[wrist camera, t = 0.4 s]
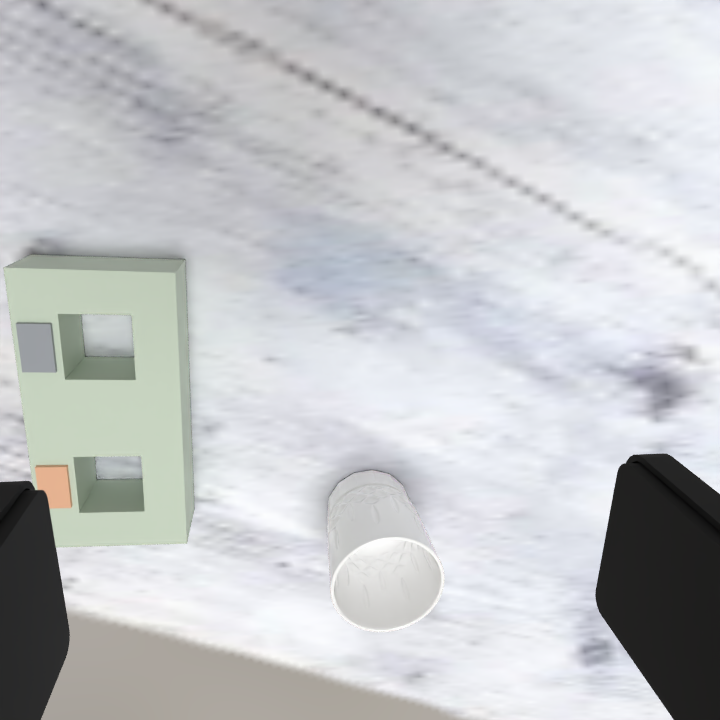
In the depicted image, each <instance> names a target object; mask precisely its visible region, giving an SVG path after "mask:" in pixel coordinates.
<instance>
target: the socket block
mask: <svg viewBox="0 0 720 720" xmlns="http://www.w3.org/2000/svg"><path fill="white" fill-rule="evenodd" d="M3 269H4V276H5V283H6V291H7V298H8V306H9V313H10V320H11V328H12V335H13V342H14V350H15V357H16V365H17V372H18V379H19V387H20V394H21V401H22V409H23V416H24V424H25V431H26V438H27V446H28V453H29V460H30V468H31V475H32V483H33V486H34V488H35V490H44V491H45V493H46V494H47V498H48V503H49V509H50V515H51V521H52V527H53V533H54V539H55V546H56V547H88V546H121V545H155V544H187V541H188V536H189V531H190V527H191V522H192V518H193V513H194V484H193V457H192V430H191V403H190V375H189V348H188V321H187V294H186V266H185V260H183V259H152V258H122V257H92V256H62V255H29V256H27V257H25V258H23V259H21V260H18V261H16V262H14V263H12V264H10V265H8V266H6V267H4V268H3ZM81 314H93V315H132V330H133V345H134V357H85V351H84V341H83V331H82V320H81ZM115 456H141V463H142V478H143V479H106V480H97V477H96V466H95V457H115Z"/></svg>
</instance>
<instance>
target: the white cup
mask: <svg viewBox="0 0 720 720" xmlns="http://www.w3.org/2000/svg"><path fill="white" fill-rule="evenodd" d="M327 517H328V524H327V538H328V560H329V576H330V594H331V600H332V603H333V605H334V607H335V609H336V611H337V612H338V614H339V615H340V616H341V617H342V618H343V619H344V620H345V621H346V622H348V623H349V624H351V625H353V626H355V627H357V628H359V629H362V630H366V631H372V632H390V631H395V630H399V629H403V628H406V627H408V626H410V625H412V624H414V623H416V622H418V621H419V620H421V619H422V618H423V617H425V616H426V615H427V614H428V613H429V612H430V611H431V610H432V609H433V608H434V606H435V605H436V604H437V602H438V600H439V599H440V597H441V594H442V591H443V588H444V581H445V576H444V570H443V566H442V564H441V561H440V559H439V557H438V555H437V553H436V551H435V549H434V547H433V545H432V542H431V540H430V538H429V536H428V534H427V532H426V529H425V527H424V525H423V523H422V521H421V519H420V517H419V515H418V513H417V511H416V510H415V507H414V506H413V505H412V503H411V502H410V500H409V498H408V496H407V494H406V492H405V489H404V487H403V485H402V484H401V483H400V482H398V481H397V480H396V479H395V478H394V477H392V476H391V475H390V474H387V473H383V472H379V471H375V470H369V471H363V472H357V473H353V474H352V475H350V476H349V477H347V478H345V479H344V480H342V481H341V482H339V483H338V484H337V486H336V487H335V489H334V490H333V492H332V494H331V495H330V497H329V502H328V512H327Z"/></svg>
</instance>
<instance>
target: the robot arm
mask: <svg viewBox="0 0 720 720" xmlns="http://www.w3.org/2000/svg"><path fill="white" fill-rule="evenodd" d="M596 602H597V606H598V609H599V612H600V613H601V615H602V617H603V618H604V620H605V621H606V623H607V624H608V625H609V627H610V628H611V630H612V631H613V633H614V634H615V635H616V637H617V638H618V640H619V641H620V643H621V644H622V646H623V647H624V648H625V650H626V651H627V653H628V654H629V656H630V657H631V659H632V660H633V661H634V663H635V664H636V666H637V667H638V669H639V670H640V671H641V673H642V674H643V676H644V677H645V679H646V680H647V682H648V683H649V684H650V686H651V687H652V689H653V690H654V692H655V693H656V695H657V696H658V697H659V699H660V700H661V702H662V703H663V705H664V706H665V708H666V709H667V710H668V712H669V713H670V715H671V716H672V718H673V719H674V720H720V494H719V493H718V492H716V491H715V490H714V489H712V488H711V487H710V486H709V485H707V484H706V483H705V482H704V481H702V480H701V479H700V478H698V477H697V476H696V475H695V474H693V473H692V472H691V471H690V470H688V469H687V468H686V467H684V466H683V465H682V464H681V463H679V462H678V461H677V460H676V459H674V458H673V457H672V456H670V455H668V454H642V455H633V456H631V457H629V459H628V460H627V462H626V464H622V465H621V466H620V467H619V469H618V473H617V478H616V483H615V489H614V494H613V500H612V505H611V510H610V516H609V521H608V527H607V532H606V538H605V543H604V549H603V554H602V560H601V565H600V570H599V576H598V581H597V587H596ZM69 636H70V634H69V625H68V619H67V613H66V607H65V601H64V594H63V588H62V582H61V576H60V570H59V564H58V558H57V552H56V546H55V539H54V533H53V527H52V521H51V515H50V509H49V503H48V498H47V494H46V493H45V491H44V490H35V488H34V486H33V484H32V483H31V482H30V481H15V482H0V720H41V717H42V715H43V712H44V710H45V708H46V705H47V703H48V700H49V698H50V695H51V693H52V690H53V688H54V685H55V683H56V680H57V678H58V675H59V673H60V670H61V668H62V666H63V663H64V661H65V658H66V655H67V651H68V647H69Z"/></svg>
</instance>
